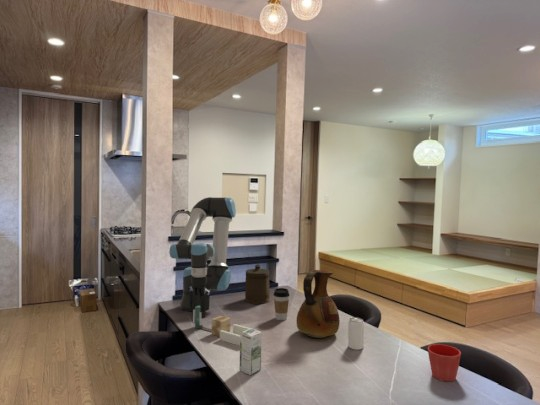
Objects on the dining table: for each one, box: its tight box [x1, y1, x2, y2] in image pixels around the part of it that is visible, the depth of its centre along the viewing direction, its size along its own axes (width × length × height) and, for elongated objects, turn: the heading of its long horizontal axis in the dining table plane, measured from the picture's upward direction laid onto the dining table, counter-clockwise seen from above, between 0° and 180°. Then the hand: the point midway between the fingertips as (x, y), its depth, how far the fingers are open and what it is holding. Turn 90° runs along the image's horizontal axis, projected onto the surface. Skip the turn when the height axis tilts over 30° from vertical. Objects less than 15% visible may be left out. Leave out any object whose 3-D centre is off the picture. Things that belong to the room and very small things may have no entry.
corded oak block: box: [194, 306, 231, 337], centre depth 172 cm, size 19×6×10 cm, turn 57°
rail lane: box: [219, 323, 260, 347], centre depth 162 cm, size 14×10×4 cm
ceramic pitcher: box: [296, 269, 340, 339], centre depth 169 cm, size 20×20×30 cm
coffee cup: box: [273, 287, 290, 321], centre depth 190 cm, size 8×8×15 cm
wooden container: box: [244, 264, 271, 305], centre depth 222 cm, size 15×15×22 cm
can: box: [347, 316, 365, 351], centre depth 155 cm, size 6×6×12 cm
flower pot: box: [427, 343, 462, 382], centre depth 131 cm, size 11×11×10 cm
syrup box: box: [239, 328, 263, 376], centre depth 134 cm, size 6×6×14 cm
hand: (198, 323), depth 176 cm, fingers closed on corded oak block, 3 cm apart
